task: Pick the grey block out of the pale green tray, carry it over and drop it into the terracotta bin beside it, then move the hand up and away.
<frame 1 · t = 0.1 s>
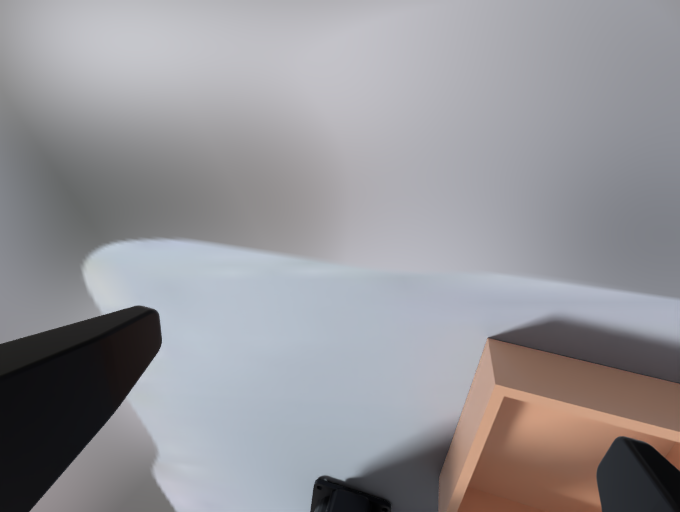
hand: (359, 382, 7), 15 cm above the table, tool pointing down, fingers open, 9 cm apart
terracotta bin: (555, 441, 24), on the table
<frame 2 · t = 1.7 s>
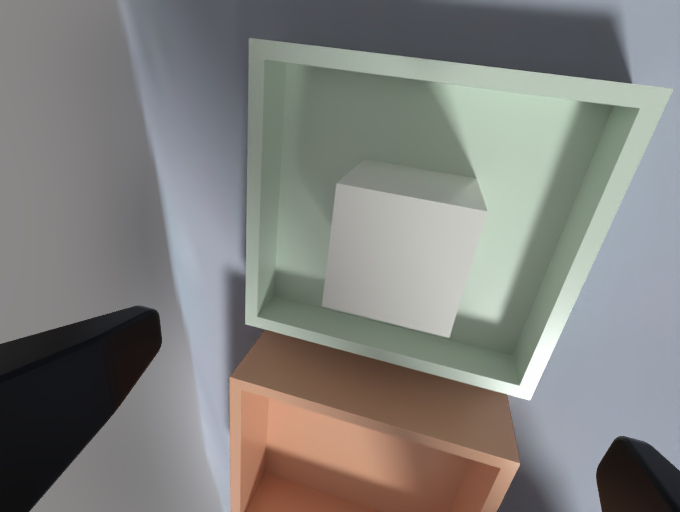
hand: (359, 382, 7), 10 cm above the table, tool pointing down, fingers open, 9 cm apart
pale green tray: (409, 217, 17), on the table
terracotta bin: (362, 436, 23), on the table
grey block: (408, 220, 16), resting on pale green tray
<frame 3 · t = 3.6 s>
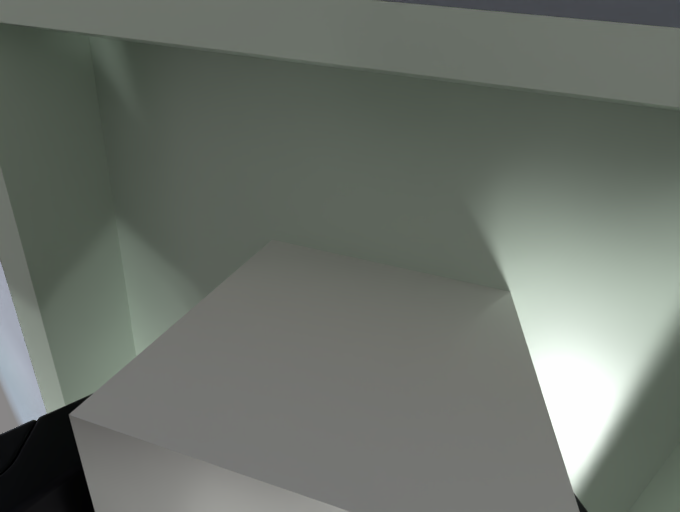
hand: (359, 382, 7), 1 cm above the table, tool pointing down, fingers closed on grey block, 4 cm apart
pale green tray: (370, 344, 8), on the table
grey block: (366, 358, 8), resting on pale green tray, touching gripper
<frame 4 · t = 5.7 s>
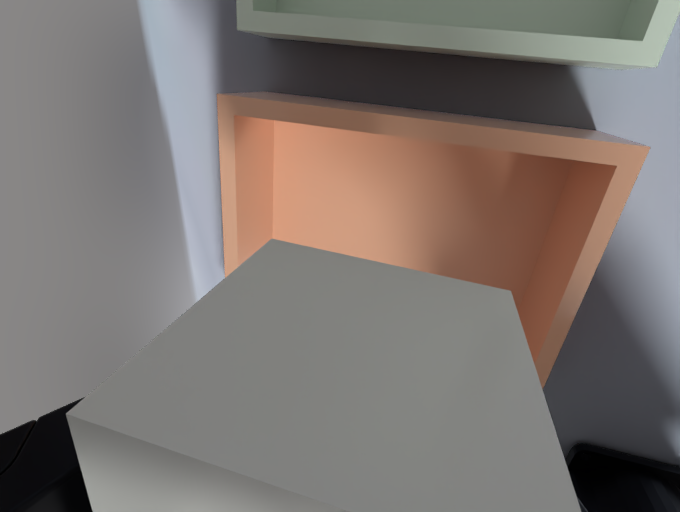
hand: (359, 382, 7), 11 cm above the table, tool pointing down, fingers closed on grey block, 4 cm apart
terracotta bin: (395, 246, 18), on the table
grey block: (366, 357, 8), point 10 cm above the table, touching gripper
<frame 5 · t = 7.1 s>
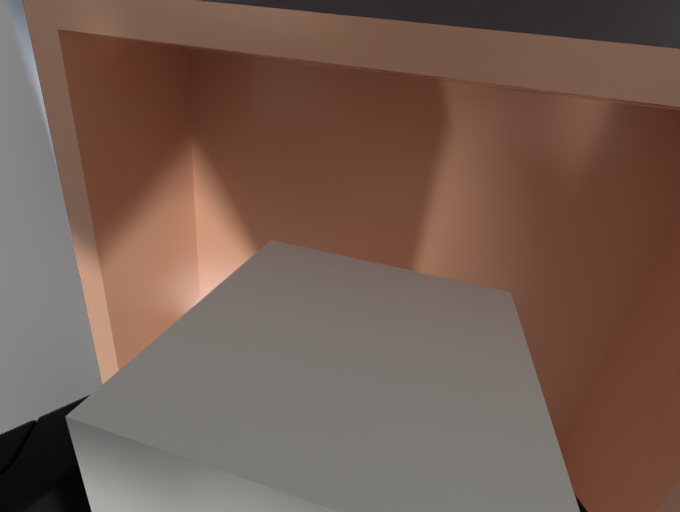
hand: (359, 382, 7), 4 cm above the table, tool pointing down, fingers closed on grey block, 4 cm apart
terracotta bin: (386, 281, 11), on the table
grey block: (366, 358, 8), point 4 cm above the table, touching gripper
when the fingers open (3 cm above the table, at t = 8.0 s): grey block drops 2 cm, resting on terracotta bin.
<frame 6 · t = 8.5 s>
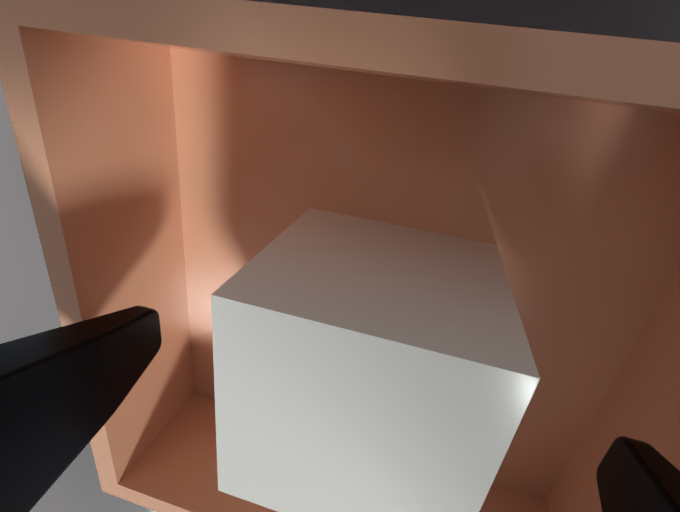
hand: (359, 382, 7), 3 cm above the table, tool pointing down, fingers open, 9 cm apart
terracotta bin: (384, 294, 10), on the table
grey block: (383, 304, 10), resting on terracotta bin
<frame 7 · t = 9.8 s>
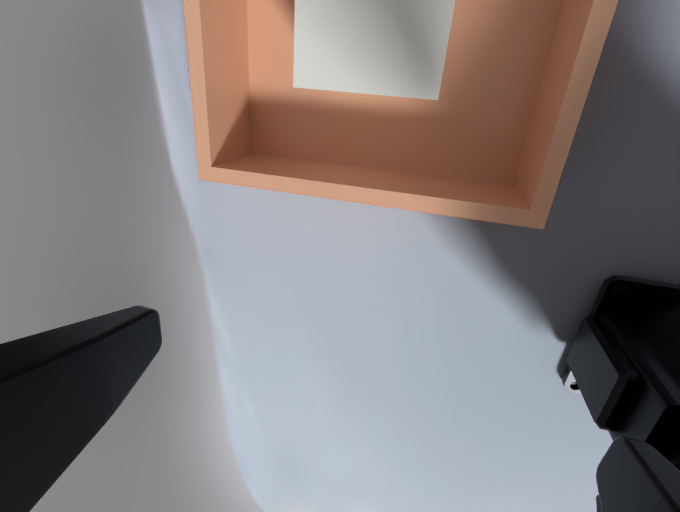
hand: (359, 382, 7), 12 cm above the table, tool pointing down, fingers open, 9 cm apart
terracotta bin: (390, 29, 15), on the table
grey block: (390, 28, 14), resting on terracotta bin
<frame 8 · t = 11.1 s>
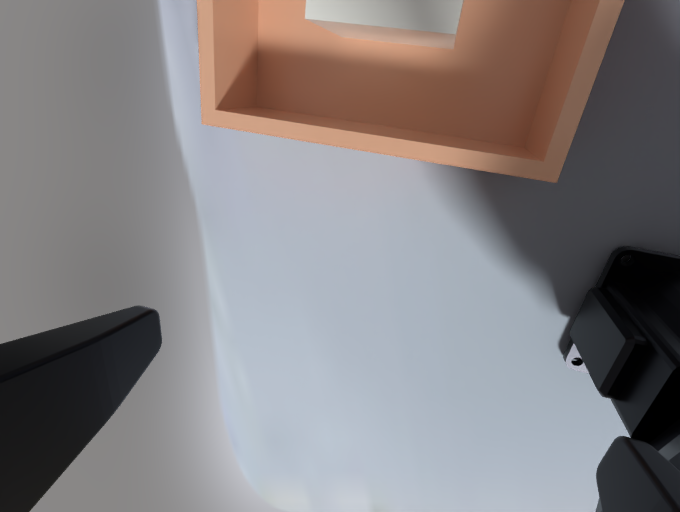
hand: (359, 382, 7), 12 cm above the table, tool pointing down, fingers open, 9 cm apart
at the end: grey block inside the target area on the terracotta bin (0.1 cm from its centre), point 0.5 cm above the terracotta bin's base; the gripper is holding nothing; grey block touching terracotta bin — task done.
